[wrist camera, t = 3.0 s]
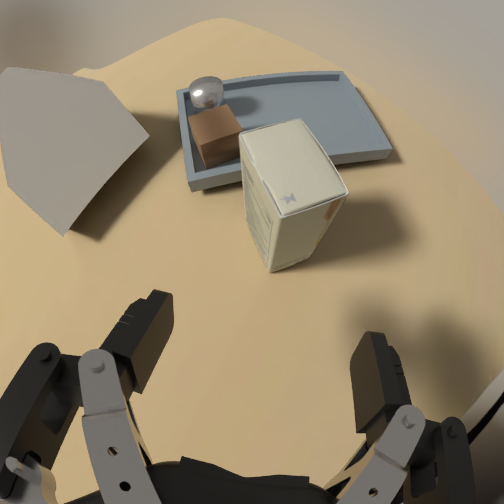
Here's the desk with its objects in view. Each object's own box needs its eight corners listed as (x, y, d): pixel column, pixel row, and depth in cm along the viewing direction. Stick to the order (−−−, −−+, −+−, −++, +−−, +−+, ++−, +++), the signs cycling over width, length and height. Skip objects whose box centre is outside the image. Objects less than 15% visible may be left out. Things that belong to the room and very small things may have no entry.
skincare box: (310, 258, 26) (355, 198, 14) (268, 275, 25) (282, 224, 13) (283, 200, 27) (302, 114, 15) (242, 214, 27) (236, 130, 15)
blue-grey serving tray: (338, 86, 33) (342, 71, 30) (383, 163, 29) (393, 148, 26) (180, 106, 31) (176, 90, 28) (193, 196, 27) (187, 182, 24)
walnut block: (229, 129, 28) (227, 104, 24) (244, 156, 27) (242, 130, 23) (194, 142, 27) (187, 117, 23) (206, 169, 26) (200, 145, 22)
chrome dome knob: (222, 98, 29) (219, 73, 25) (228, 117, 28) (225, 92, 24) (193, 104, 29) (187, 80, 25) (196, 124, 28) (190, 99, 24)
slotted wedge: (124, 142, 34) (52, 60, 22) (150, 135, 26) (55, 26, 14) (60, 217, 31) (-19, 136, 19) (63, 236, 23) (-44, 127, 11)
